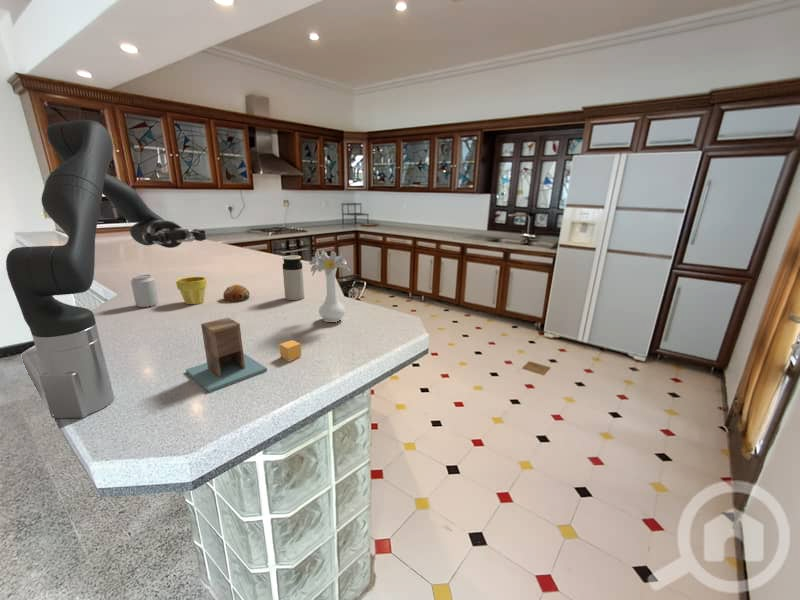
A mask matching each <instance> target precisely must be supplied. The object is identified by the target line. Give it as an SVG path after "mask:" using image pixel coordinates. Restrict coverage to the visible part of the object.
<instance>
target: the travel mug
mask: <svg viewBox="0 0 800 600" xmlns="http://www.w3.org/2000/svg"><path fill="white" fill-rule="evenodd" d="M301 258H302V256H300V255H286V256H285V255H284V256H282V259H283V263H282V275H283V276H282V277H283V286H284V287H283V288H284V298H285V300H287V301H299V299H300V300H303V299H304V298H305V287H304V285H305V283H304V273H303V272H304V270H303V263H302V261H301V260H302V259H301Z"/></svg>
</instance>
